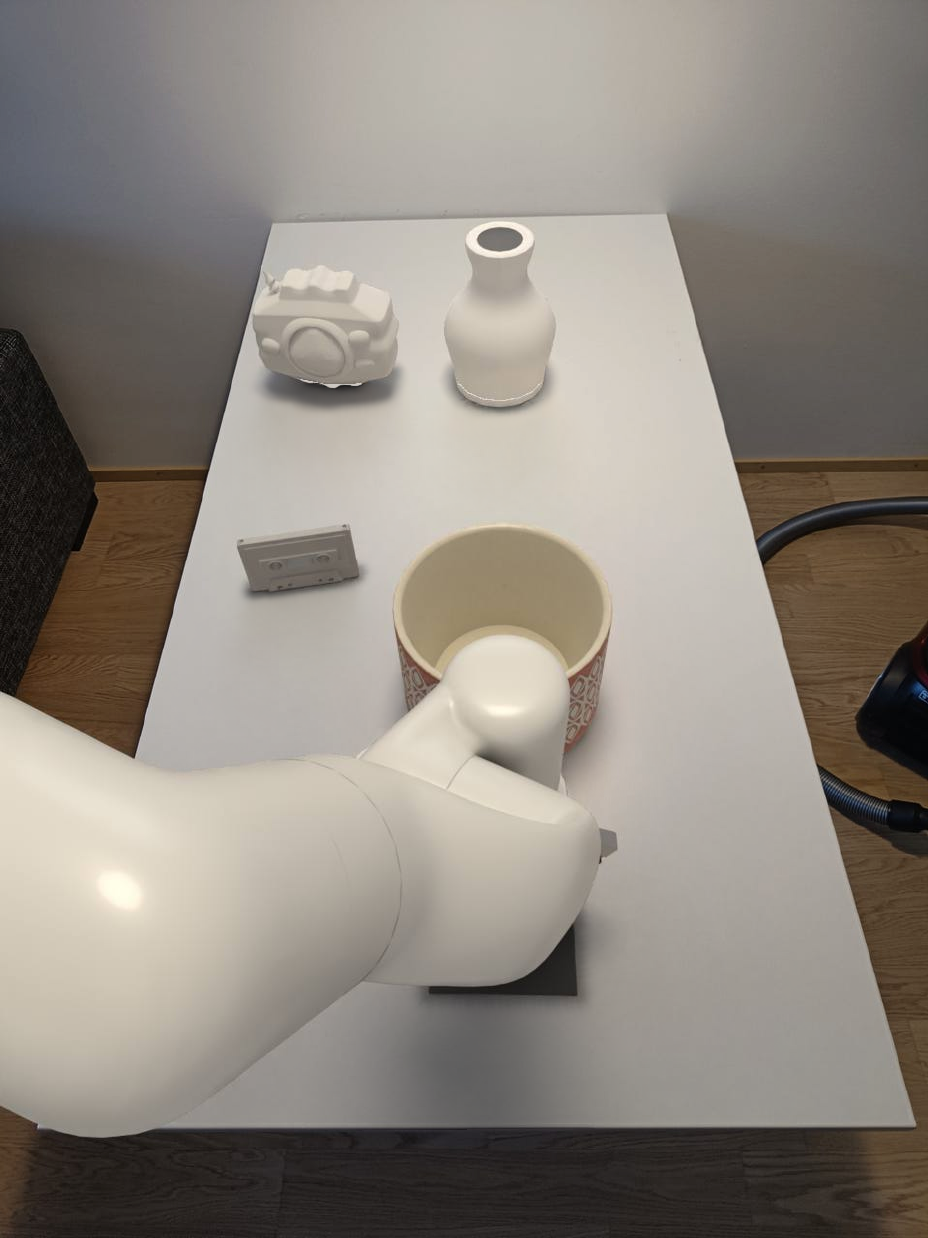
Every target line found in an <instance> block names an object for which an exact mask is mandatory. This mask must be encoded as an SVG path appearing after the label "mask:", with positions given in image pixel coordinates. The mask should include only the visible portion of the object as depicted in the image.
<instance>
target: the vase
mask: <svg viewBox="0 0 928 1238" xmlns="http://www.w3.org/2000/svg"><path fill="white" fill-rule="evenodd" d="M464 241H465V242H464V245H465V252H466V255H467V257H468V259H469V262H470V265H471V269H472V271H471V272H472V275H471V278H470V279H469V280H468V281H467V283H466V284H465V285H464V286H463V287H462V288H461V289H460V290H459V292H457V293H456V294H455V296H454V297H453V299H452V301H451V302H450V305H449V307H448V310H447V313H446V316H445V319H444V324H443V332H444V333H443V334H444V335H443V336H444V339H445V344H446V347H447V351H448V354H449V357H450V360H451V363H452V367H453V371H454V380H455V383H456V386H457V389H458V391H459V392H460V393H461V394H462V395H463V396H464V397H465V398H466V399H467V400H469V401H471V402H474V403H476V404H478V405H481V406H484V407H493V408H506V407H512V406H519V405H521V404H523V403H525V402H527V401H529V400H532V399H533V398H535V397H536V395H538V393H539V392H540V391H541V390H542V389H543V385H544V382H545V377H546V376H545V374H546V370H547V367H548V363H549V360H550V357H551V353H552V350H553V345H554V341H555V335H556V331H557V328H556V327H557V323H556V316H555V314H554V310H553V309H552V306H551V304H550V302H549V300H548V298H547V296H546V295H545V293H544V292H543V291H542V290H541V288H539V287H538V286H537V285H536V284H535V283H534V282H533V281H532V280H531V279H530V276H529V273H528V267H529V265H530V262H531V259H532V257H533V252H534V249H535V245H536V243H535V236H534V234H533V232H532V230H530V229H529V228H528V227H526V226H525V225H523V224H520V223H517V222H514V221H502V220H497V221H490V222H485V223H483V224H479V225H477V226H475V227H474V228H472V229H471V230H469V232H467V235H466V238H465V240H464ZM455 374H456V375H455ZM456 378H457V379H456ZM542 380H543V381H542ZM457 381H458V382H457ZM541 382H542V383H541ZM458 383H459V384H461V385H462V387H464V389H465V390H467V392H469V393H472V394H474V395H476V396H478V397H481V398H484V399H486V398H487V399H494V400H506V399H511V398H518V397H521V396H523V395H525V394H527V393H529V392H531V391H533V390H534V389H535V388H536V387H537V386H538V384H540V383H541V384H540V385H539V386H538V387H537V388H536V389H535V390H534V391H533V392H532V393H530V394H528V395H525V396H523V397H521V398H519V399H513V400H507V401H492V400H483V399H480V398H478V397H475V396H473V395H471V394H468V393H467V392H466V391H465V390H464V389H463V388H462V387H461V386H460V385H458Z"/></svg>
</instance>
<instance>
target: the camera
mask: <svg viewBox="0 0 928 1238" xmlns="http://www.w3.org/2000/svg"><path fill="white" fill-rule="evenodd" d="M261 271H262V274H263V275H264V278H265V284H266V285H267V286H266V287H264V288H263V289H262V291H261V292H260V294H259V296H258V297H257V299H256V302H255V305H254V306H253V309H252V329H253V331H254V333H255V341H256V345H257V347H258V356H259V358H260V360H261V362H262V364H263V365H264V368H265V369H267V370H268V371H271V372H273V373H276V374H277V373H278V374H281V375H284V376H287V377H291V378H294V379H296V378H298V379H303V380H308V381H313V382H318V383H323V384H356V383H364V384H365V383H367V382H370V381H376V380H380V379H383V378H386V377H388V376H389V375H390V374H391V373H392V371H393V369H394V366H395V364H396V363H395V362H396V360H397V356H398V351H399V344H398V338H397V336H398V331H399V327H400V324H399V318H398V317H397V315H396V314H395V313H394V310H393V299H392V295H391V294H390V293H389V292H388V291H385V290H383V289H380V288H378V287H375V286H372V285H369V284H366V283H363V282H360V281H359V280H358V278H357V276H356V275H355V273H354V272H352V271H348V270H342V271H334V270H331V269H330V268H329V267H327V266H325V265H317V266H315V267H314V268H312V269H309V270H306V269H301V268H298V267H297V268H290V269H288V270H287V271H286V273H285V274H284V276H283V279H282V280H280V281H276V277H275V276H273V275H272V274H270V273H268V272H267V270H265V269H264V268H262V270H261ZM298 379H297V380H298Z"/></svg>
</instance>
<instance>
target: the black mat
mask: <svg viewBox="0 0 928 1238" xmlns="http://www.w3.org/2000/svg"><path fill="white" fill-rule="evenodd" d="M574 925H575V921H574V922H573V923H572V925H571V926H570V928H569V929H568V931H567V932H566V933H565V935H564V936H563V937H562V939H561V940H560V942H559V943H558V944H557V946H556V947H555V948H554V950H553V951H552V952H551V954H550V955H549V956H548V957H547V958H546V960H544V961H543V962H542V963H541V964H540V965H539V966H538V967H537V968H536V969H535V970H533V971H532V972H530V973H529V974H527V975H526V976H524V977H522V978H520V979H517V980H515V981H512V982H509V983H505V984H499V985H493V986H476V987H468V986H428V994H434V995H436V994H437V995H439V994H440V995H441V994H442V995H443V994H444V995H513V996H514V995H515V996H519V995H520V996H578V980H577V979H578V977H577V961H576V942H575V926H574Z"/></svg>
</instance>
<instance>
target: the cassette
mask: <svg viewBox="0 0 928 1238" xmlns="http://www.w3.org/2000/svg"><path fill="white" fill-rule="evenodd" d="M236 549H237V551H238V554H239V556H240V560H241V563H242V565H243V569H244V572H245V574H246V577H247V581H248V583H249V586H250V588H251V591H253V592H261V591H269V592H276V591H283V590H290V589H296V588H305V587H311V586H317V585H325V584H330V583H336V582H343V581H344V579H349V578H355V577H359V573H360V569H359V565H358V563H359V562H358V560H357V557H356V552H355V551H356V550H355V546H354V541H353V535H352V531H351V526H350V525H349V523H343V524H338V525H332V526H331V525H330V526H324V527H317V528H310V529H303V530H296V531H289V532H282V533H273V534H268V535H261V536H253V537H246V538H240V539H237V541H236Z"/></svg>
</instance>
